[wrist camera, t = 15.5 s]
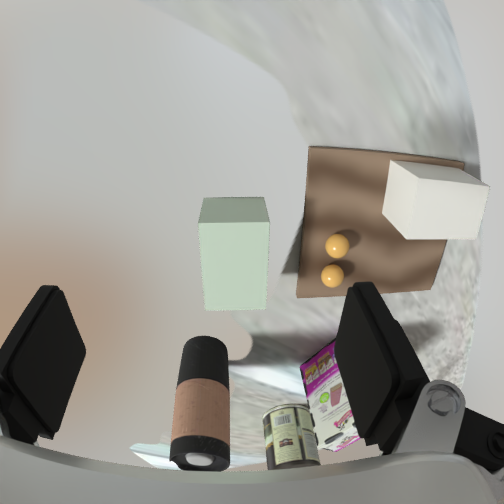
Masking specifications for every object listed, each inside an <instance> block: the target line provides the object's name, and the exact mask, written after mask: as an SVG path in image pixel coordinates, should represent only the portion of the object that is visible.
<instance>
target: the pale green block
mask: <svg viewBox="0 0 504 504" xmlns="http://www.w3.org/2000/svg"><path fill="white" fill-rule="evenodd" d="M198 228H199V229H198V230H199V244H200V257H201V269H202V281H203V292H204V302H205V310H260V309H266V297H267V276H268V254H269V230H270V221H269V217H268V213H267V209H266V205H265V201H264V197H224V198H204V199H203V204H202V208H201V212H200V217H199V221H198Z"/></svg>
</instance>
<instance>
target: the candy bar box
mask: <svg viewBox="0 0 504 504" xmlns="http://www.w3.org/2000/svg"><path fill="white" fill-rule="evenodd" d="M335 341H336V339H334V340H333V341H332V342H331V343H329V344H328V345H327V346H326V347H324V348H323V349H322V350H321V351H319V352H318V353H317V354H316V355H314V356H313V357H312V358H311V359H309V360H308V361H307V362H305V363H304V364H303V365H301V366H300V371H301V376H302V380H303V384H304V389H305V393H306V398H307V402H308V406H309V411H310V416H311V420H312V425H313V429H314V434H315V439H316V443H317V448H322V449H326V450H331V451H334V452H337V451H339V450H340V449H342V448H344V447H346V446H348V445H350V444H352V443H353V442H355V441H357V440H358V439H360V437H359V435H358V432H357V429H356V425H355V422H354V418H353V415H352V411H351V408H350V405H349V401H348V398H347V395H346V391H345V388H344V385H343V381H342V378H341V375H340V372H339V368H338V365H337V362H336V359H335V355H334V345H335Z"/></svg>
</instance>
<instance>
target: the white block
mask: <svg viewBox="0 0 504 504" xmlns="http://www.w3.org/2000/svg"><path fill="white" fill-rule="evenodd" d="M489 190H490V186H488V185H486V184H485V183H483V182H482V181H480V180H478V179H477V178H475V177H473V176H471V175H470V174H468V173H466V172H464V171H462V170H461V169H459V168H453V167H447V166H439V165H432V164H424V163H415V162H406V161H397V160H390V166H389V173H388V180H387V186H386V192H385V198H384V204H383V210H382V214H383V215H384V216H385V217H386V218H387V219H388V220H389V221H390V222H391V223H392V225H393V226H394V227H395V228H396V229H397V230H398V231H399V232H400V233H401V234H402V235H403V236H404V238H405V239H476V238H477V234H478V231H479V228H480V224H481V221H482V217H483V213H484V209H485V206H486V202H487V198H488V194H489Z"/></svg>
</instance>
